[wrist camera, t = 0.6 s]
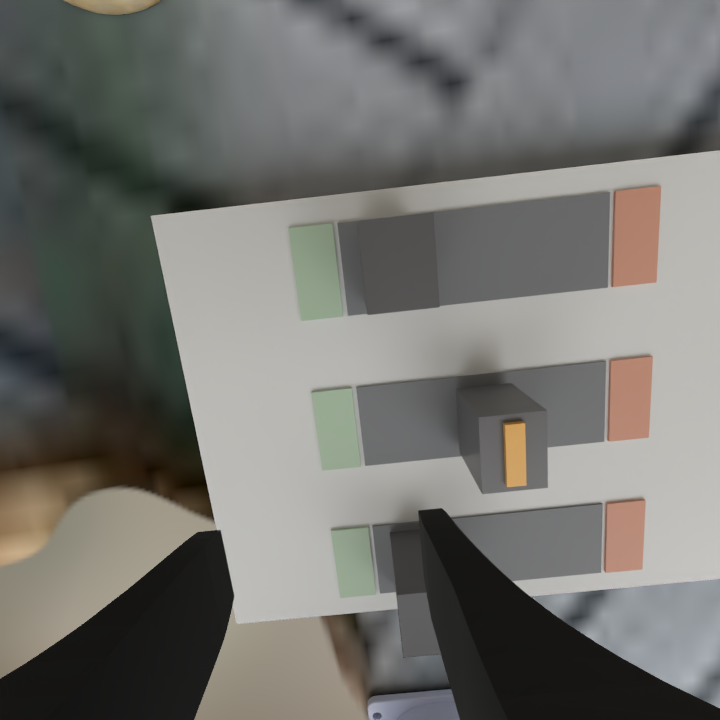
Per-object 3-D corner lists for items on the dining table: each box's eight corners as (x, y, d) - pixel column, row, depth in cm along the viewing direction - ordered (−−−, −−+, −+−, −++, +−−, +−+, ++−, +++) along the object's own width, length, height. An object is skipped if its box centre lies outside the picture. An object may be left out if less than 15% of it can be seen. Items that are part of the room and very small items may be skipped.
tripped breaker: (513, 446, 19) (550, 490, 15) (459, 452, 19) (483, 497, 15) (511, 382, 18) (549, 412, 14) (455, 388, 18) (480, 419, 14)
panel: (724, 555, 22) (841, 647, 17) (244, 600, 23) (208, 704, 17) (765, 151, 18) (941, 101, 12) (167, 219, 18) (87, 200, 13)
